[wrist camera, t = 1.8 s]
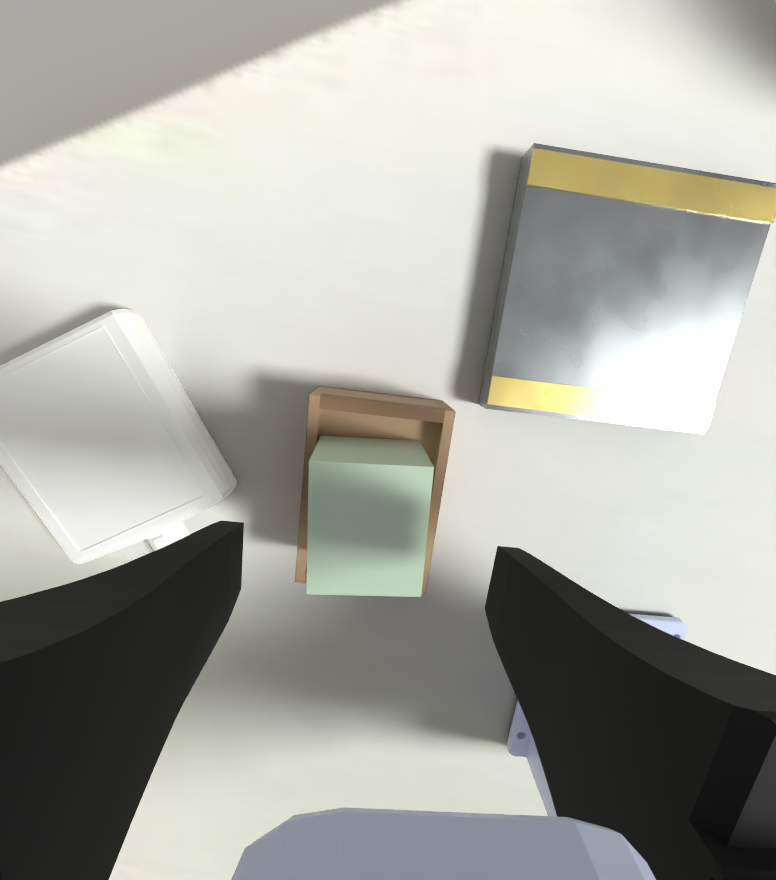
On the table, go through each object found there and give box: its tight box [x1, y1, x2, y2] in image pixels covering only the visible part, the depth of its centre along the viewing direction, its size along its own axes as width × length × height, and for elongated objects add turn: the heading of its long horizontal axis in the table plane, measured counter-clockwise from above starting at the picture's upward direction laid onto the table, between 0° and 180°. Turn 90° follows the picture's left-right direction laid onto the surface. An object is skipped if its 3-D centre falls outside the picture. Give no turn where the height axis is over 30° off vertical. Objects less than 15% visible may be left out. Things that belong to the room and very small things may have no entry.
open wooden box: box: [295, 386, 455, 593], centre depth 18 cm, size 8×6×3 cm
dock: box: [479, 143, 776, 434], centre depth 17 cm, size 10×10×1 cm
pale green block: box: [306, 436, 434, 597], centre depth 15 cm, size 5×4×4 cm
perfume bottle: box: [0, 309, 237, 564], centre depth 18 cm, size 8×2×12 cm
